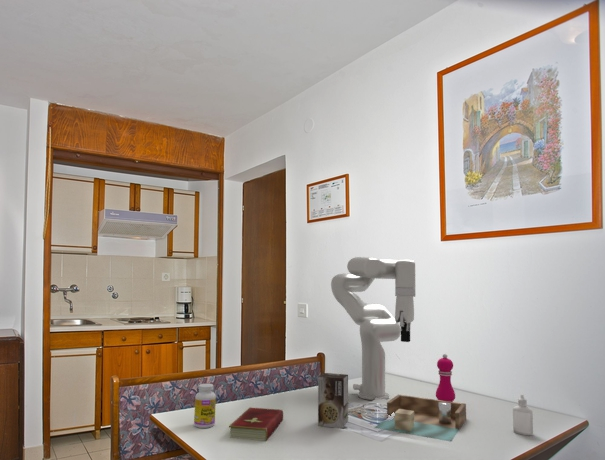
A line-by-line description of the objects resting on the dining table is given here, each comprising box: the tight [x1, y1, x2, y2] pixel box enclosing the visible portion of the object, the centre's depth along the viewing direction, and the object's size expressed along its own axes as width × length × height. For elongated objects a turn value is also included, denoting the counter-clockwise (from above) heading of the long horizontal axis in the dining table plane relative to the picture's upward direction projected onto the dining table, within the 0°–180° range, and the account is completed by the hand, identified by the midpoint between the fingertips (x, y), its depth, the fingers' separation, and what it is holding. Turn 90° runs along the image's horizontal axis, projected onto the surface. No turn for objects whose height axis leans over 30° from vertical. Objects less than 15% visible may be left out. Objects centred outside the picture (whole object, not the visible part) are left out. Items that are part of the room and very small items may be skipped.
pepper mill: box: [435, 353, 456, 402], centre depth 181 cm, size 7×7×20 cm
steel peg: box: [439, 402, 451, 424], centre depth 159 cm, size 4×4×6 cm
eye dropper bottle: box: [512, 394, 534, 436], centre depth 152 cm, size 4×6×12 cm
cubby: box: [374, 394, 467, 442], centre depth 157 cm, size 24×26×6 cm
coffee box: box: [317, 372, 349, 430], centre depth 158 cm, size 9×6×16 cm
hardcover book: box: [228, 406, 284, 442], centre depth 152 cm, size 12×21×4 cm, turn 169°
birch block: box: [395, 409, 414, 431], centre depth 152 cm, size 5×5×5 cm
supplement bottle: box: [193, 383, 217, 429], centre depth 154 cm, size 7×7×13 cm
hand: (405, 341), depth 178 cm, fingers closed
